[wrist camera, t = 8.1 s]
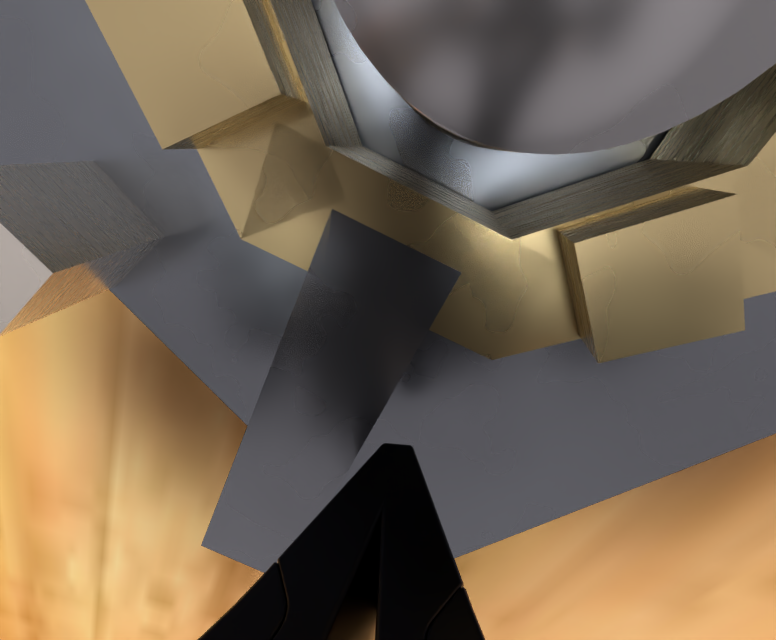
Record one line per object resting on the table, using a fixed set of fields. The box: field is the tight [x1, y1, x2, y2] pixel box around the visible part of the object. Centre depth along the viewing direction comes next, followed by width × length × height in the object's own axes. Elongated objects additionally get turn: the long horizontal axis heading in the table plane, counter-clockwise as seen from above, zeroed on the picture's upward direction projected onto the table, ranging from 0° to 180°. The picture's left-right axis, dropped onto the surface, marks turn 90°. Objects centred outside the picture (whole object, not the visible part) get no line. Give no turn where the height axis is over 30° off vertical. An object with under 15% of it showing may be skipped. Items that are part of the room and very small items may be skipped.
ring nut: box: [85, 0, 776, 573], centre depth 6 cm, size 17×10×3 cm, turn 156°
